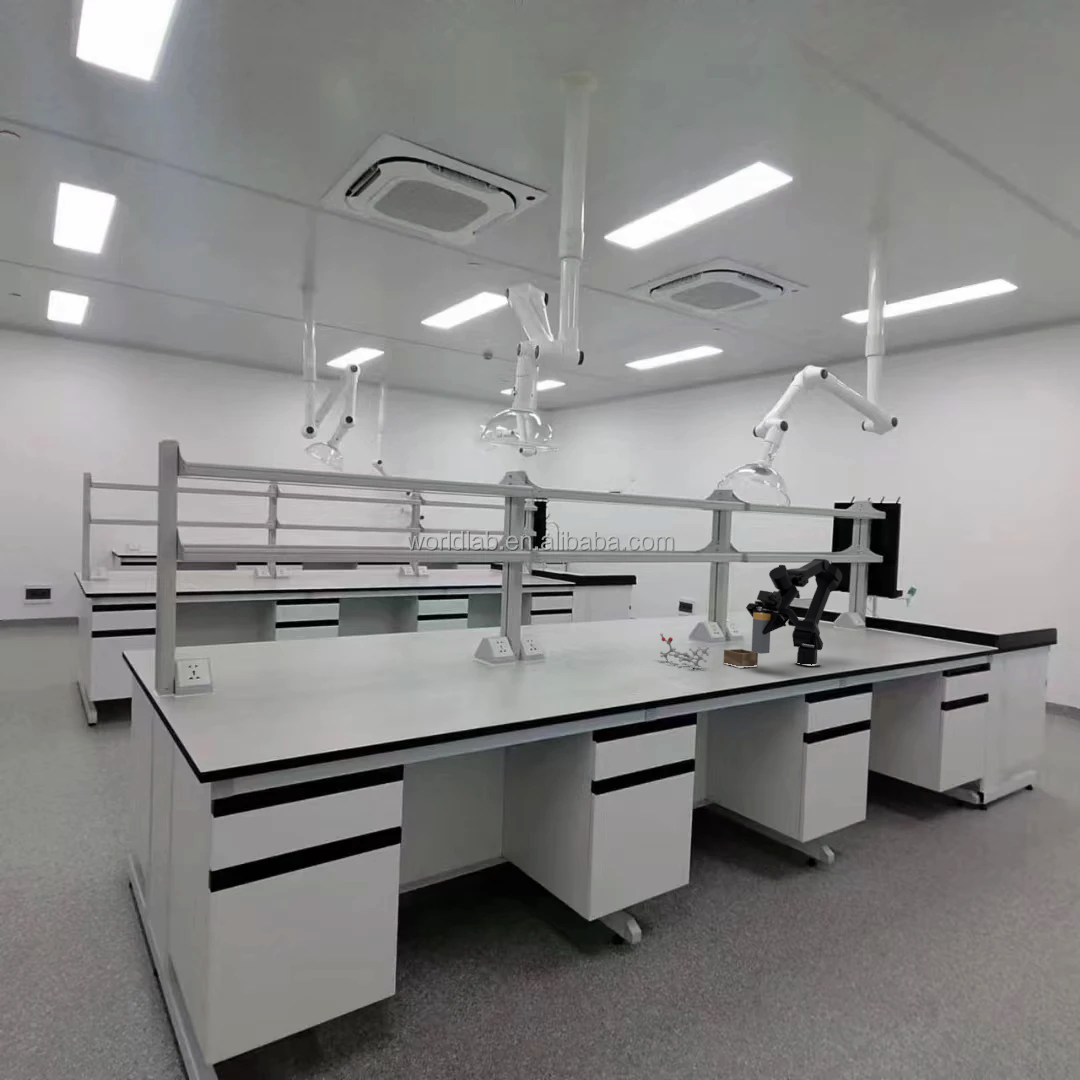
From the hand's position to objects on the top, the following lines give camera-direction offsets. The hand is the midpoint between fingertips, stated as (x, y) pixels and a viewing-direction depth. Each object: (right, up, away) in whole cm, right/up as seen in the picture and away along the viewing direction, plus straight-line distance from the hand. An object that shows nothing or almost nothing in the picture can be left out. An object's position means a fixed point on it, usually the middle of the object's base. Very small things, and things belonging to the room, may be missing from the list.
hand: (758, 632), depth 228 cm
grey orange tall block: (+1, -7, +1) cm, 7 cm away
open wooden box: (-3, -13, +11) cm, 17 cm away
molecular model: (-23, -13, +7) cm, 27 cm away
